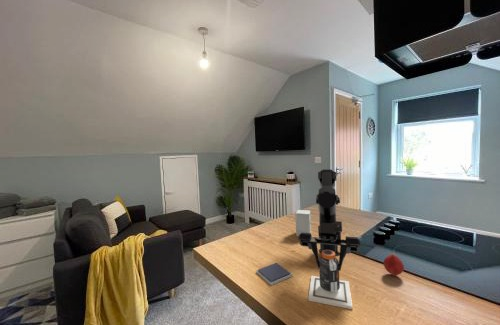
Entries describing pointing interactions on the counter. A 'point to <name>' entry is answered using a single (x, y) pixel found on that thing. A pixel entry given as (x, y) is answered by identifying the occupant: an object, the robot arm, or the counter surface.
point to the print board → (330, 294)
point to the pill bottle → (329, 271)
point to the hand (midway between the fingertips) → (328, 268)
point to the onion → (393, 265)
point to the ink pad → (274, 273)
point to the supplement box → (303, 222)
